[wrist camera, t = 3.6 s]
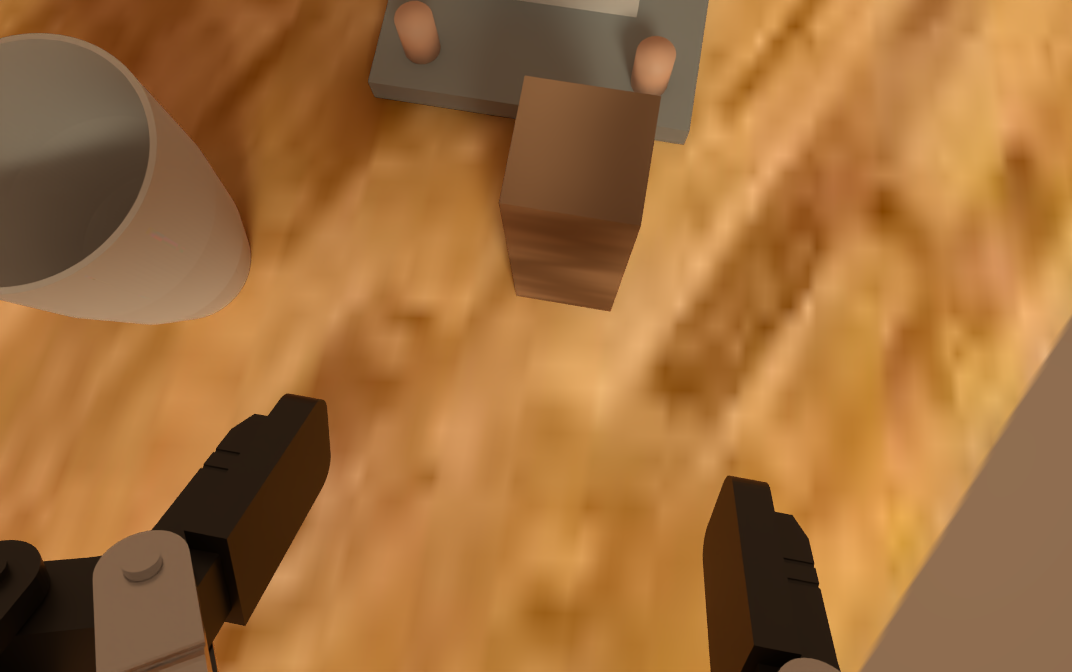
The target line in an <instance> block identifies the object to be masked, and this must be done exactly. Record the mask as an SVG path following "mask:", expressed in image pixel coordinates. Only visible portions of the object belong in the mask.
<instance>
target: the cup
mask: <svg viewBox="0 0 1072 672" xmlns="http://www.w3.org/2000/svg"><path fill="white" fill-rule="evenodd" d="M250 264H251V251H250V246H249V242H248V239H247V236H246V233H245V230H244V227H243V224H242V220H241V217H240V214H239V211H238V209H237V207H236V205H235V203H234V201H233V199H232V198H231V196H230V195H229V193H228V192H227V190H226V189H225V187H224V186H223V184H222V182H221V181H220V179H219V178H218V176H217V175H216V173H215V172H214V170H213V169H212V167H211V166H210V164H209V163H208V161H207V159H206V158H205V156H204V155H203V153H202V152H201V150H200V149H199V148H198V146H197V145H196V144H195V143H194V142H193V140H192V139H191V138H190V137H189V136H188V135H187V134H186V133H185V132H184V130H183V129H182V128H181V127H180V126H179V125H178V124H177V123H176V122H175V120H174V119H173V118H172V117H171V116H170V115H169V114H168V113H167V112H166V110H165V109H164V108H163V107H162V106H161V105H160V104H159V103H158V102H157V101H156V99H155V98H154V97H153V96H152V95H151V94H150V93H149V92H148V91H147V89H146V88H145V87H144V86H143V85H142V84H141V83H140V82H139V81H138V79H137V78H136V77H135V76H134V75H133V74H132V73H131V72H130V71H129V70H128V68H127V67H126V66H125V65H123V64H122V63H121V62H120V61H119V60H118V59H116V58H115V57H114V56H112V55H111V54H110V53H108V52H106V51H105V50H103V49H101V48H99V47H97V46H95V45H93V44H91V43H89V42H86V41H83V40H80V39H77V38H73V37H69V36H64V35H58V34H48V33H30V34H19V35H13V36H8V37H3V38H0V300H3V301H7V302H11V303H15V304H19V305H24V306H28V307H32V308H36V309H40V310H45V311H49V312H53V313H57V314H61V315H65V316H70V317H75V318H83V319H94V320H105V321H116V322H127V323H138V324H164V323H171V322H178V321H185V320H191V319H198V318H202V317H206V316H209V315H211V314H213V313H216V312H217V311H219V310H221V309H222V308H224V307H225V306H227V305H228V304H229V303H230V302H231V301H232V300H233V299H234V298H235V297H236V296H237V295H238V293H239V292H240V290H241V289H242V287H243V286H244V284H245V282H246V279H247V277H248V274H249V270H250Z"/></svg>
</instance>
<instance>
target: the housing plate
mask: <svg viewBox="0 0 1072 672" xmlns="http://www.w3.org/2000/svg"><path fill="white" fill-rule="evenodd" d="M708 1H709V0H388V4H387V8H386V12H385V16H384V20H383V24H382V28H381V32H380V36H379V40H378V44H377V48H376V52H375V56H374V60H373V64H372V68H371V72H370V75H369V79H368V83H369V85H370V88H371V90H372V92H373V94H374V96H375V97H379V98H385V99H392V100H398V101H404V102H411V103H417V104H424V105H430V106H437V107H443V108H450V109H456V110H463V111H469V112H476V113H482V114H489V115H495V116H502V117H508V118H515V119H516V116H517V111H518V106H519V101H520V96H521V91H522V86H523V81H524V77H525V76H531V77H537V78H544V79H551V80H557V81H564V82H571V83H577V84H584V85H591V86H597V87H604V88H611V89H617V90H624V91H631V92H637V93H644V94H651V95H657V96H661V101H660V107H659V114H658V120H657V126H656V133H655V139H654V140H657V141H664V142H670V143H677V144H683V145H684V143H685V141H686V138H687V136H688V133H689V130H690V123H691V116H692V109H693V103H694V96H695V89H696V82H697V76H698V69H699V62H700V55H701V48H702V42H703V35H704V28H705V21H706V15H707V8H708Z"/></svg>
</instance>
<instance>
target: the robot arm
mask: <svg viewBox="0 0 1072 672" xmlns="http://www.w3.org/2000/svg"><path fill="white" fill-rule="evenodd" d="M330 458H331V454H330V440H329V427H328V414H327V405H326V402H325V401H324V400H321V399H316V398H310V397H305V396H299V395H294V394H285V395H284V396H282V398H281V399H280V400H279V401H278V403H277V404H276V405H275V407H274V408H273V410H272V411H271V412H270V414H269V415H268V416H264V415H258V414H254V415H252V416H251V417H249V418H248V419H246V420H244V421H243V422H241V423H240V424H238V425H237V426H235V427H234V428H232V429H231V430H230V431H229V433H228V434H227V435H226V436H225V438H224V439H223V440H222V441H221V443H220V444H219V445H218V447H217V448H216V452H213V453H212V454H211V455H210V457H209V458H208V459H207V461H206V462H205V463H204V466H203V468H200V469H199V471H198V472H197V473H196V475H195V476H194V477H193V478H192V480H191V481H190V482H189V483H188V485H187V486H186V487H185V489H184V490H183V491H182V492H181V494H180V495H179V496H178V497H177V499H176V500H175V501H174V503H173V504H172V505H171V506H170V508H169V509H168V510H167V511H166V513H165V514H164V515H163V516H162V518H161V519H160V520H159V522H158V523H157V524H156V525H155V526H154V528H153V529H152V530H151V531H145V532H141V533H137V534H134V535H131V536H129V537H127V538H125V539H123V540H121V541H119V542H118V543H116V544H115V545H113V546H112V547H111V548H109V549H108V550H107V551H106V552H105V553H104V554H103V555H102V556H97V557H89V558H78V559H66V560H54V561H43V560H42V558H41V556H40V553H39V552H38V550H37V549H36V548H35V547H34V546H33V545H31V544H29V543H27V542H23V541H18V540H4V541H0V672H219V669H218V663H217V658H216V652H215V647H214V643H213V640H214V639H215V637H216V635H217V633H218V632H219V630H220V628H221V627H222V625H223V623H224V622H229V623H234V624H239V625H244V626H245V625H246V624H247V622H248V620H249V618H250V616H251V615H252V613H253V611H254V609H255V608H256V606H257V604H258V602H259V600H260V599H261V597H262V595H263V593H264V591H265V590H266V588H267V586H268V584H269V582H270V581H271V579H272V577H273V575H274V573H275V572H276V570H277V568H278V566H279V564H280V563H281V561H282V559H283V557H284V555H285V554H286V552H287V550H288V548H289V546H290V545H291V543H292V541H293V539H294V538H295V536H296V534H297V532H298V530H299V529H300V527H301V525H302V523H303V521H304V520H305V518H306V516H307V514H308V512H309V511H310V509H311V507H312V505H313V503H314V502H315V500H316V498H317V496H318V494H319V493H320V491H321V489H322V487H323V485H324V483H325V481H326V478H327V475H328V471H329V466H330ZM703 569H704V583H705V597H706V612H707V626H708V640H709V654H710V668H711V672H841V671H840V668H839V665H838V662H837V657H836V653H835V649H834V645H833V640H832V636H831V632H830V628H829V623H828V619H827V615H826V611H825V607H824V602H823V598H822V594H821V590H820V589H819V587H818V586H819V581H818V577H817V573H816V568H814V560H813V556H812V552H811V547H810V543H809V539H808V537H807V536H806V534H805V533H804V531H803V530H802V529H801V527H800V526H799V524H798V523H797V521H796V520H795V518H794V517H793V515H789V514H784V513H778V512H775V511H774V506H773V501H772V496H771V490H770V487H769V485H768V483H766V482H761V481H756V480H750V479H745V478H739V477H734V476H727V477H726V479H725V480H724V483H723V485H722V488H721V491H720V494H719V496H718V499H717V502H716V504H715V507H714V510H713V512H712V515H711V518H710V521H709V523H708V526H707V529H706V533H705V538H704V545H703Z"/></svg>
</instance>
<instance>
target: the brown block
mask: <svg viewBox="0 0 1072 672" xmlns="http://www.w3.org/2000/svg"><path fill="white" fill-rule="evenodd" d="M660 101H661V96H657V95H651V94H644V93H637V92H631V91H624V90H617V89H611V88H604V87H597V86H591V85H584V84H577V83H571V82H564V81H557V80H551V79H544V78H537V77H531V76H525V77H524V81H523V86H522V91H521V96H520V101H519V106H518V111H517V116H516V121H515V126H514V131H513V136H512V141H511V146H510V150H509V155H508V160H507V165H506V170H505V175H504V180H503V185H502V190H501V195H500V200H499V206H500V211H501V217H502V222H503V227H504V232H505V237H506V243H507V248H508V253H509V258H510V264H511V269H512V274H513V279H514V284H515V290H516V295H517V296H522V297H528V298H534V299H540V300H546V301H552V302H557V303H563V304H569V305H575V306H581V307H587V308H593V309H599V310H605V311H611V308H612V305H613V303H614V300H615V297H616V294H617V291H618V289H619V286H620V283H621V280H622V277H623V274H624V272H625V269H626V266H627V263H628V260H629V257H630V255H631V252H632V249H633V246H634V243H635V241H636V238H637V235H638V232H639V229H640V226H641V221H642V215H643V208H644V202H645V196H646V189H647V183H648V177H649V170H650V164H651V158H652V151H653V145H654V139H655V133H656V126H657V120H658V114H659V107H660Z"/></svg>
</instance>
